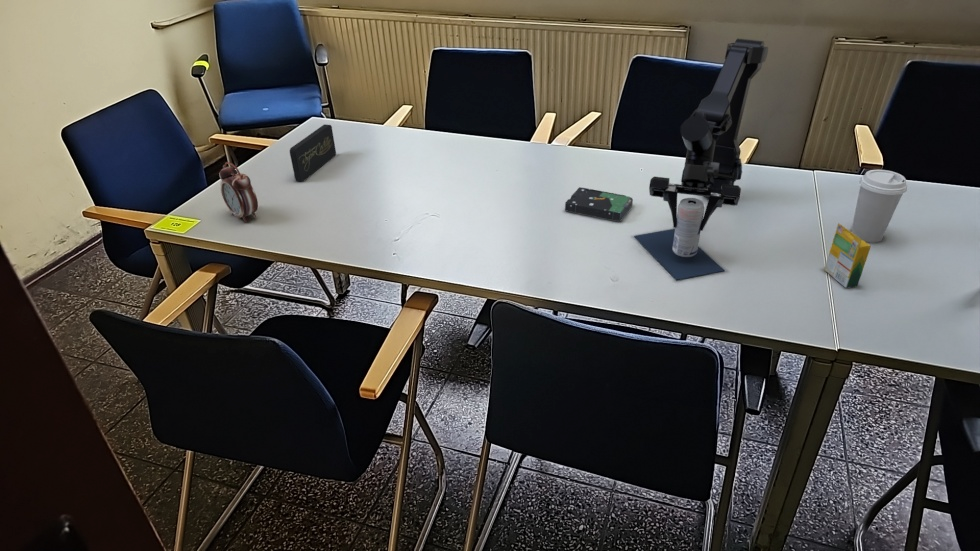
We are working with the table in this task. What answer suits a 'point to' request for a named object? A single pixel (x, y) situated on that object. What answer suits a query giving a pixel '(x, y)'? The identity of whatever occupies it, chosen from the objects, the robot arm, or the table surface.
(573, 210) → the disk drive
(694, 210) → the energy drink
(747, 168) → the table surface
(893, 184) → the coffee cup
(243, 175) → the alarm clock
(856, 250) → the crayon box
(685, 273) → the mat
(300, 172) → the nameplate
